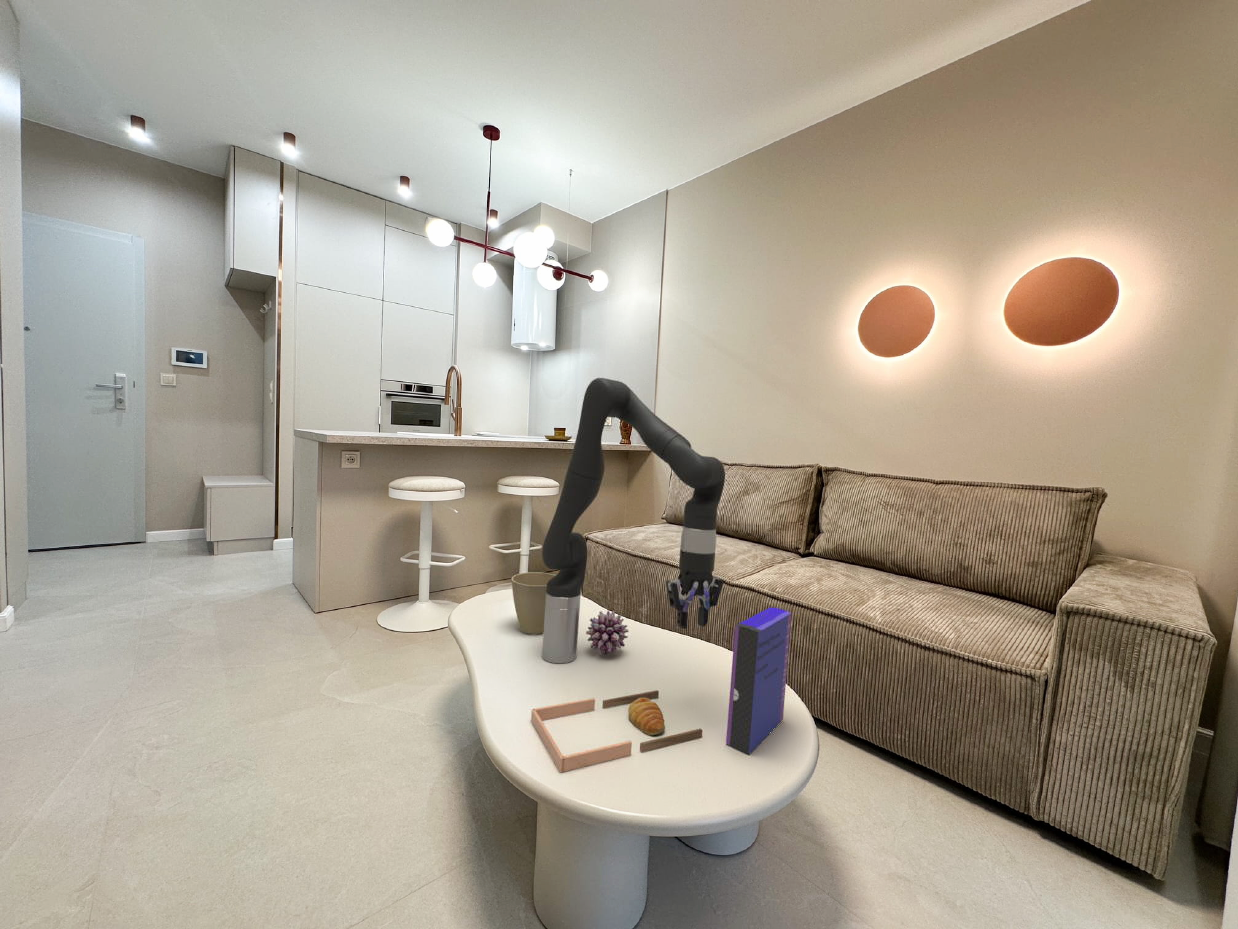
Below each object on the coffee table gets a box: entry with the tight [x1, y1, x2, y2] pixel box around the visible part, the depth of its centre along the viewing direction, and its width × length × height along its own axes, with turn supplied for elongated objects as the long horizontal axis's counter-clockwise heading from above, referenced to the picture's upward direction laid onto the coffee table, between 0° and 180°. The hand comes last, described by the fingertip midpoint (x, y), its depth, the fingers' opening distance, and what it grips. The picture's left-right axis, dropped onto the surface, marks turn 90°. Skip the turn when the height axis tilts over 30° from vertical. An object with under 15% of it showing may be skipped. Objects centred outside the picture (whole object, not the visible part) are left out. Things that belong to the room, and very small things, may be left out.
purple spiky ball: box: [585, 610, 629, 655], centre depth 136 cm, size 12×12×12 cm
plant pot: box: [511, 571, 557, 635], centre depth 149 cm, size 15×15×16 cm
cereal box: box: [725, 606, 792, 756], centre depth 101 cm, size 17×5×24 cm, turn 141°
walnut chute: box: [602, 689, 703, 753], centre depth 103 cm, size 17×14×2 cm
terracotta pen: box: [530, 697, 633, 774], centre depth 95 cm, size 17×14×2 cm
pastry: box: [627, 698, 666, 736], centre depth 102 cm, size 9×7×4 cm
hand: (692, 626), depth 106 cm, fingers open, 4 cm apart
